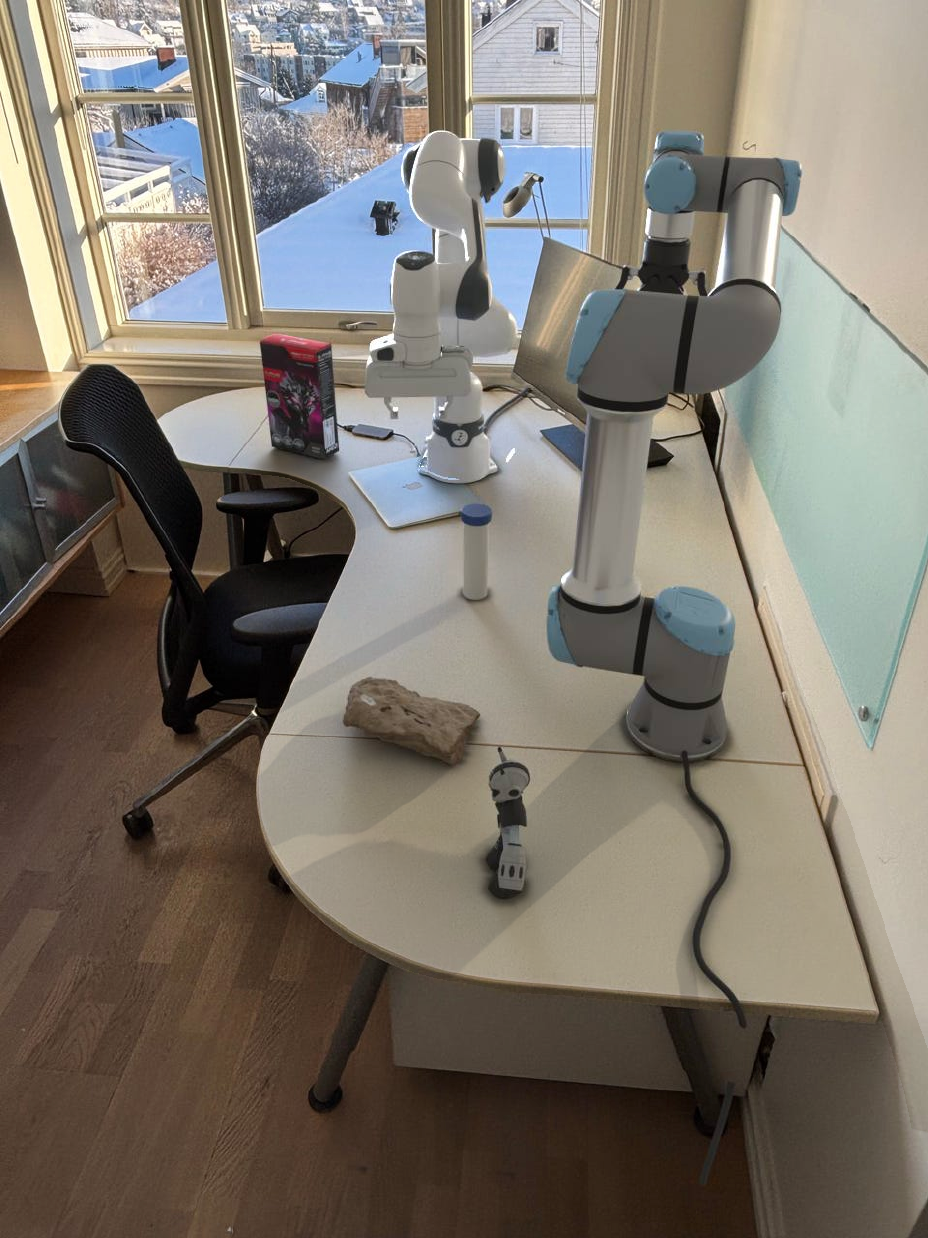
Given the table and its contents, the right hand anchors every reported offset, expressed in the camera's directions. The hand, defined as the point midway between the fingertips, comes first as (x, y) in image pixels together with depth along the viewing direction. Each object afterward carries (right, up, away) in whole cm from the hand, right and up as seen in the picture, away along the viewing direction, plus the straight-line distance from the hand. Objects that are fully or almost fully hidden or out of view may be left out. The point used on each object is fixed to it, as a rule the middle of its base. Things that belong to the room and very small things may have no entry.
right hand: (652, 364), depth 163 cm
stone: (-42, -62, -21) cm, 78 cm away
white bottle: (-31, -40, +13) cm, 52 cm away
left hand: (-42, -6, +15) cm, 45 cm away
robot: (-28, -78, -44) cm, 94 cm away
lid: (-31, -26, +3) cm, 40 cm away
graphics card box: (-73, -3, +68) cm, 100 cm away
